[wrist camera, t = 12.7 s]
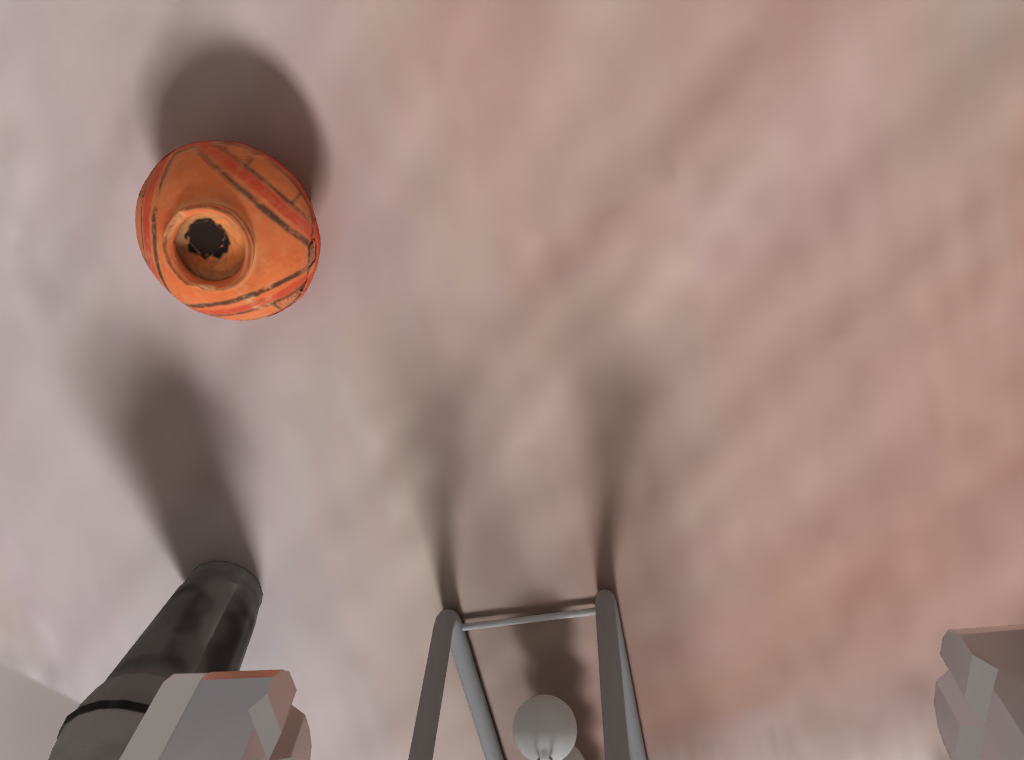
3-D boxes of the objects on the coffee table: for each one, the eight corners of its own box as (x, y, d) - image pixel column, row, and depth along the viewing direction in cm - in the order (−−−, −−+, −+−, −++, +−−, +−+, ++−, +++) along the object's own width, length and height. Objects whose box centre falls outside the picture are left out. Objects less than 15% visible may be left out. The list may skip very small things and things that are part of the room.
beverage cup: (145, 552, 47) (-108, 900, 29) (259, 533, 46) (69, 881, 28) (194, 643, 50) (-7, 1008, 32) (302, 626, 49) (156, 995, 31)
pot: (126, 217, 38) (65, 230, 31) (245, 105, 37) (208, 94, 30) (250, 340, 40) (217, 375, 33) (365, 236, 39) (354, 252, 33)
